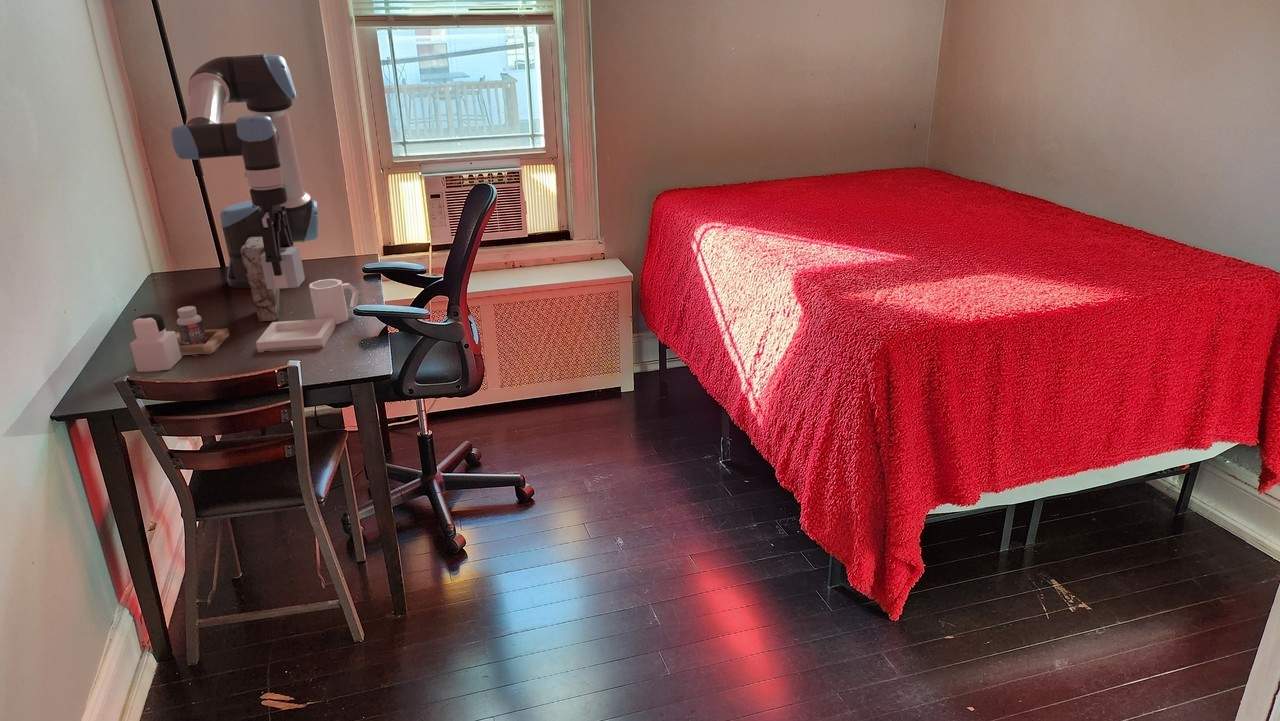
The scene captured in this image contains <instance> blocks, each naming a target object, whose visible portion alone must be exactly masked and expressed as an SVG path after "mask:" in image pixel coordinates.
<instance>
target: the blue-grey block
mask: <svg viewBox="0 0 1280 721" xmlns="http://www.w3.org/2000/svg"><path fill="white" fill-rule="evenodd" d="M280 251H281V260H283V262H284V267H285V272H286V277H287V282H288V288H287V289H292V288H293V289H294V288H299V287H300V285H302V284H303V282H304V281H305V279H306V277H305V272H304V267H303V261H302V256H301V250H300V247H299V246H295V247H293V246H292V247H283V248H280ZM260 258H261V263H262V267H263V272H264V277H265V281H266V286H267V289H276V287H275V283H274V278H273V273H272V268H271V264H270V262H266V261H265V260H266V256H265V252H264V253H263V254H262V255H261V256H260ZM279 289H280V290H282V288H279Z"/></svg>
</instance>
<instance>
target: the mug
mask: <svg viewBox="0 0 1280 721" xmlns="http://www.w3.org/2000/svg"><path fill="white" fill-rule="evenodd" d="M308 287H309V292H310V298H311V303H312V308H313V312H314V314H313V315H314V318H315V319H327V318H334V322H335V326H336V325H339V324H341V323H345V322H346V321H347V322H348V320H349V313H348V309H347V308H348V307H347V302H346V298H345V292H344V290H345V289H349V291H351V292H352V295H351V299H350V305H349V306H350V308H352V309H353V308H355V307H358V301H359V296H360V291H359V290H358V289H356V288H355V287H354V286H353V285H352V284H350V283H349V282H346V283H343V281H342V280H341V279H337V278H336V279H335V278H328V279H327V278H326V279H319V280H316V281H314V282H311V283H309V285H308ZM355 309H356V308H355Z"/></svg>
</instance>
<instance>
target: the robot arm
mask: <svg viewBox="0 0 1280 721" xmlns="http://www.w3.org/2000/svg"><path fill="white" fill-rule="evenodd" d="M187 92H188V95H189V97H190V98H189V105H188V109H187V110H188V111H187V115H186V119H185V120H186V122H185V124H181V125H178V126H173V127H172V128H171V132H170V135H171V142H172V146H173V149H174V153H175V155H176V156H177V157H178V159H180V160H195V161H197V160H203V159H214V158H216V159H217V158H228V157H241V156H242V159H243V164H244V170H245V172H244V174H243V175H244V177H246V178H247V184H248V187H250V190H249V194H250V199H251V200H245V201H241V202H237V203H234V204H231V205H228V206H226V207H224V208H223V209H222V210H221V211H220V214H219V218H220V224H221V225H220V226H221V228H222V231H223V232H222V233H223V236H224V241H225V245H226V249H227V254H228V259H229V260H228V269H227V277H226V278H227V283H228V286H229V287H231V288H235V289H251V288H250V285H249V281H248V278H247V275H246V271H245V268H244V265H243V261H242V256H241V248H242V246H243V245H245V243H246V240H248V238H250V237H262V239H263V244H264V250H265V256H266V260H265V261H266V262H270V264H271V268H272V273H273V278H274V283H275V287H276V289H279V288H281V289H289V288H288V282H287V277H286V272H285V267H284V262H283V260H281V251H280V248H283V247H296V246H294V243H305V242H311V241H315V240H317V239H318V237H319V235H320V234H319V233H320V232H319V216H318V215H319V213H318V202H317V200H313V199H312V197H311V195H310V193H308V192H307V191H305V189H304V185H303V184H304V183H303V179H302V174H301V169H300V166H299V159H298V155H297V149H296V144H295V140H294V135H293V134H294V133H293V129H292V125H291V119H290V115H289V111H290V110H291V108H292V107H293V106H294V105H293V104H294V103H293V101H294V100H295V99H297V97H298V96H297V93H296V87H295V85H294V80H293V78H292V75H291V70H290V68H289V66H288V64H287V60H286V59H285V58H284V57H283V56H281V55H279V54H266V53H264V54H263V53H262V54H250V55H236V56H235V55H234V56H233V55H232V56H228V55H227V56H220V57H215V58H213V59H210V60H208V61H206V62H205V63H203V64H202V65H201V66H199V67H197V68H196V70H194V72H193V73H192V74H191V76H190V77H189V80H188V86H187ZM231 103H245V105H246V109H247V110H248V111H249V112H251V114H253V115H246V116H242V117H240V116H239V117H238V118H236V120H235V122H233V121H232V122H223V116H224V108H225V106H226V105H227V104H231Z"/></svg>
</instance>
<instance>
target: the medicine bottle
mask: <svg viewBox="0 0 1280 721" xmlns="http://www.w3.org/2000/svg"><path fill="white" fill-rule="evenodd" d="M132 327H133V330H134V333H135V336H136V338H135V339H133V340H132V341H131V342H130V343H129V348H130V351H131V354H132V358H133V361H134V364H135V367H136V371H137V373H144V372H145V373H148V372H149V373H150V372H162V371H161V370H169V369H170V370H172V369H173V368H174V367H175V366H176V365H177V364H178V363H179V362H180V361H181V360H182V359H183V356H181V352H180V349H179V345H178V341H177V337H176V334H175V333H176V331H174V330H167V329H166V325H165V321H164V317H163V316H162V315H161V314H158V313H157V314H156V313H150V314H149V313H148V314H144V315H140V316H137V317H136V318H134V319H133V321H132ZM181 358H182V359H181ZM180 359H181V360H180ZM179 360H180V361H179ZM178 361H179V362H178ZM177 362H178V363H177ZM176 363H177V364H176ZM175 364H176V365H175ZM174 365H175V366H174ZM170 370H169V371H170Z"/></svg>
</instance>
